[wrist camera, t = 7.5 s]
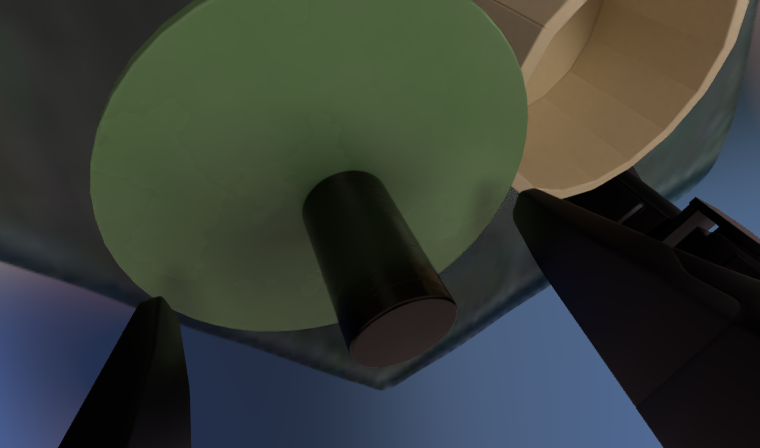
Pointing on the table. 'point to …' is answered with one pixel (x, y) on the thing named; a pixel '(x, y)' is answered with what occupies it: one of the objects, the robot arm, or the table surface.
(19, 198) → the table surface
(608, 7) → the tin
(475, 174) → the lid
